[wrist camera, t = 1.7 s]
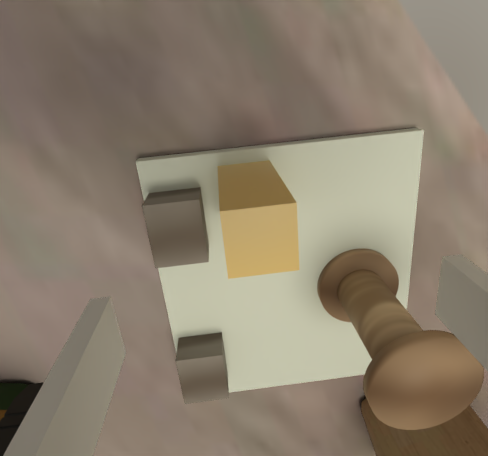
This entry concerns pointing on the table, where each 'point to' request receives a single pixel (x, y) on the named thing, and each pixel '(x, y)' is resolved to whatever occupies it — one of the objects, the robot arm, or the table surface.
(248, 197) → the yellow rectangular block
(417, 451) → the wooden block
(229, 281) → the board
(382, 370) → the bobbin
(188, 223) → the notch board
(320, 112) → the table surface
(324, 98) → the table surface
